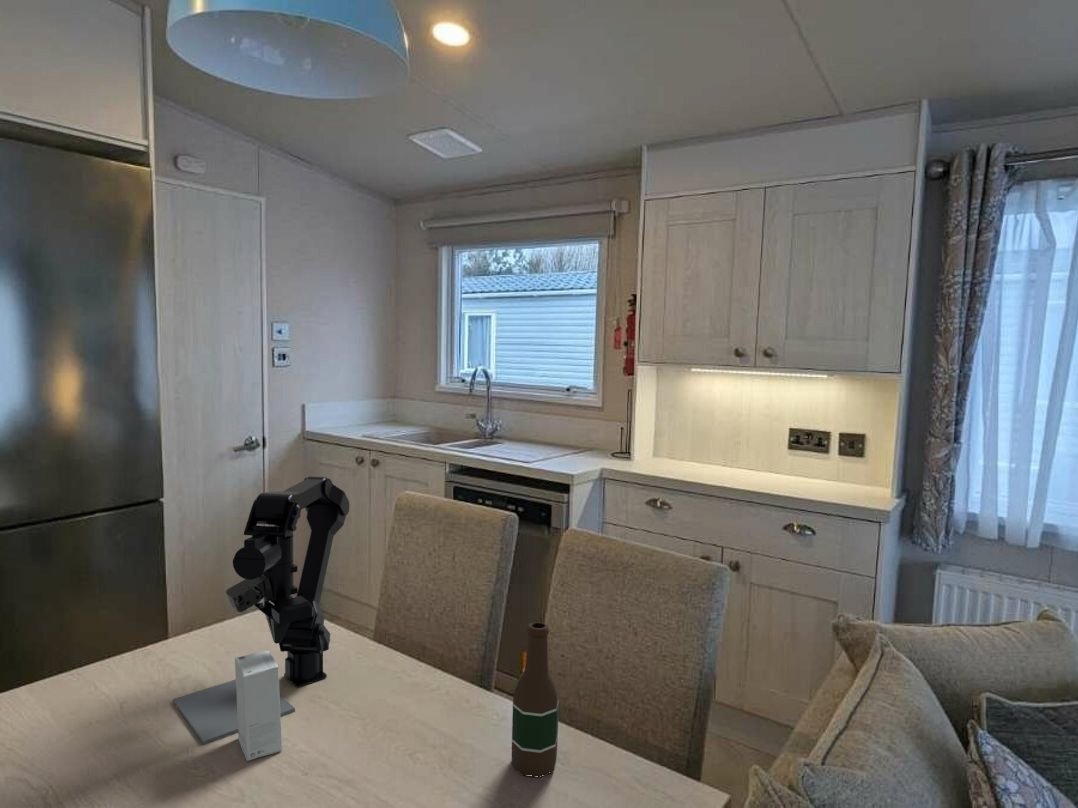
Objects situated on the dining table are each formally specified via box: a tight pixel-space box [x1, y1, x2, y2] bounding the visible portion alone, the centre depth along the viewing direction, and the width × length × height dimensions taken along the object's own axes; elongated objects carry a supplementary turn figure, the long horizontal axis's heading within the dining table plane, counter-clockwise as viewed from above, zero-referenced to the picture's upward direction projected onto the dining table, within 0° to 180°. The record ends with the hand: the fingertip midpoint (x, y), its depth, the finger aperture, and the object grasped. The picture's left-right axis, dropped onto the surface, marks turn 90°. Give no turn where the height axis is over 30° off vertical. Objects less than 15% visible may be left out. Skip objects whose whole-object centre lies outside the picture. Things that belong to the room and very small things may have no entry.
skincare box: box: [234, 649, 283, 762], centre depth 114 cm, size 8×6×15 cm
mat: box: [172, 678, 296, 745], centre depth 127 cm, size 16×18×1 cm
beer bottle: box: [511, 621, 560, 778], centre depth 111 cm, size 8×8×24 cm
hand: (277, 642), depth 125 cm, fingers closed
